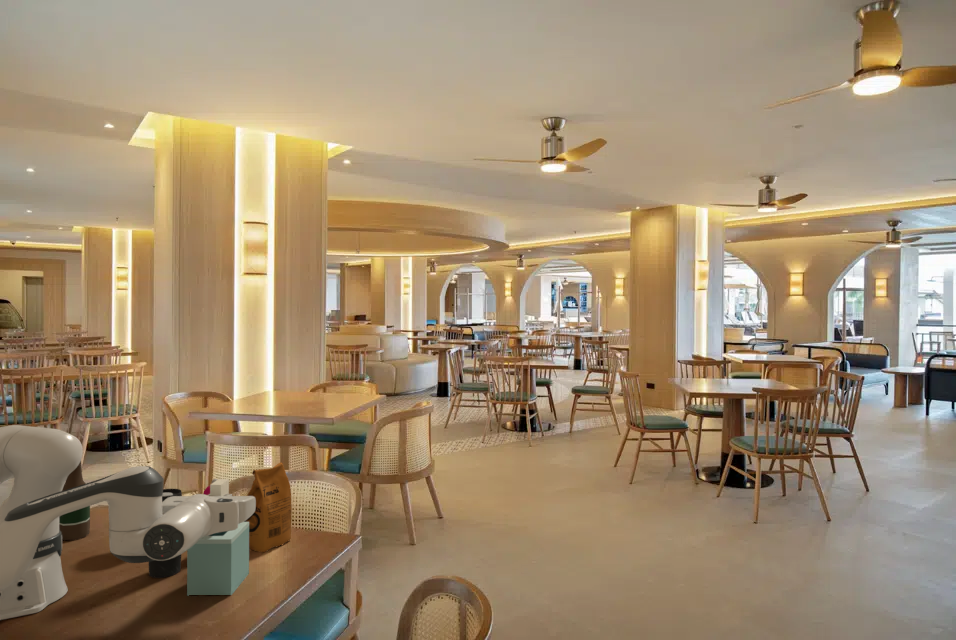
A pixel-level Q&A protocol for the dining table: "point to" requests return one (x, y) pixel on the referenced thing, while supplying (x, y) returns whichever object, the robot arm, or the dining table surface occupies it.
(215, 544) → the box
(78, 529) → the beer bottle
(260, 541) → the coffee package
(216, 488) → the white rectangular block
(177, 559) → the travel mug
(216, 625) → the dining table surface
